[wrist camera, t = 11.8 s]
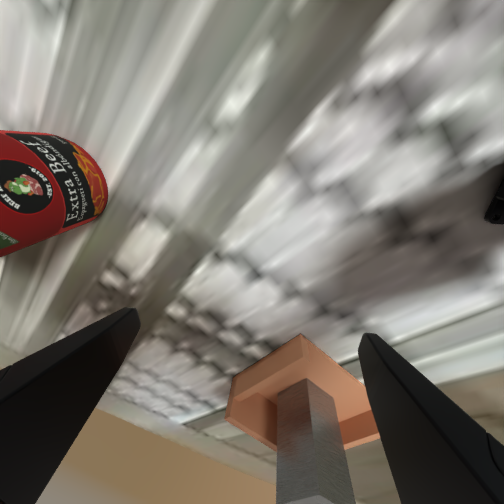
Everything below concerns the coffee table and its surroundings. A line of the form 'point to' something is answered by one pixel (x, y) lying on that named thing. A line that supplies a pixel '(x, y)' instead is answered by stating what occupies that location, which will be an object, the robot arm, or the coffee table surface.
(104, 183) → the canned food
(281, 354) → the coupler dock
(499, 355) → the coffee table surface
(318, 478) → the block
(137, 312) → the robot arm
